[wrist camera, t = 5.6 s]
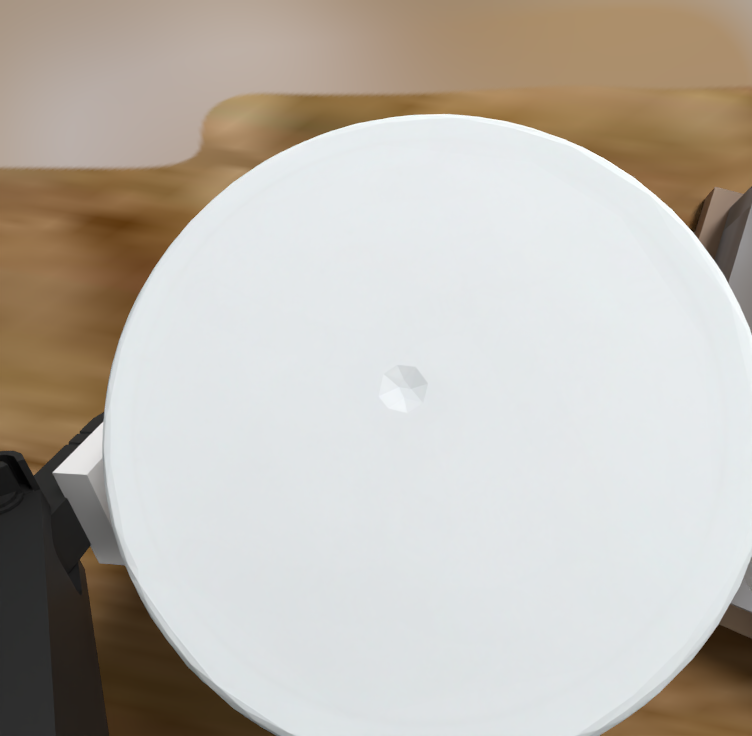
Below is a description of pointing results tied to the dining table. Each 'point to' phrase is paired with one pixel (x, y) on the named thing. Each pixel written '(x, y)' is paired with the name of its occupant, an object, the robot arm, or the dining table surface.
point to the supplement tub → (434, 437)
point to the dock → (748, 283)
